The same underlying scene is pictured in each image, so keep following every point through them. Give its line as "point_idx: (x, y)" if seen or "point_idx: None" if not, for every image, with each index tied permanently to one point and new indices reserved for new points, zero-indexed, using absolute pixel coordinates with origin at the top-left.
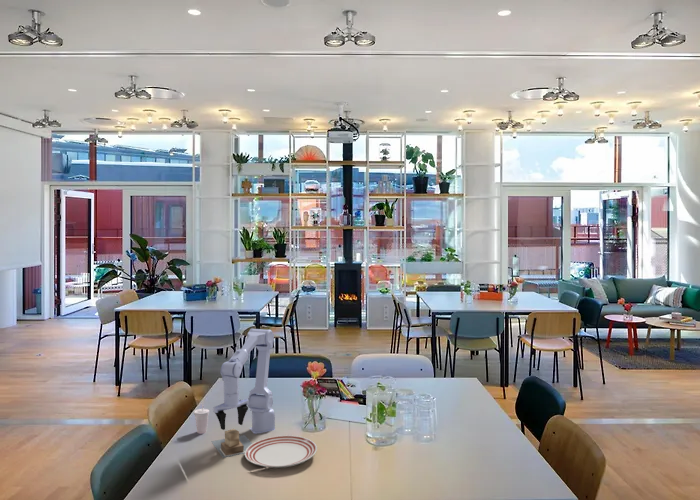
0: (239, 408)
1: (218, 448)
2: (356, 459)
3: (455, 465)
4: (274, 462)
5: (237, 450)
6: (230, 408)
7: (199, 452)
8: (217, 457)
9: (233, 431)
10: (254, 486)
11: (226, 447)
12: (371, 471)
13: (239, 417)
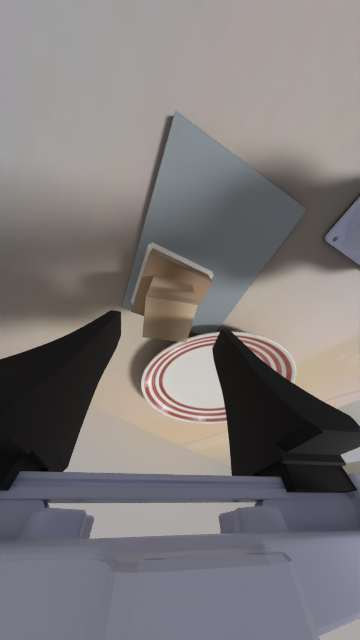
0: (260, 438)
1: (149, 235)
2: None
3: None
4: (182, 388)
5: None
6: (142, 485)
7: (79, 182)
8: (117, 282)
9: (172, 326)
10: (113, 401)
11: (139, 303)
12: None
13: (231, 363)
